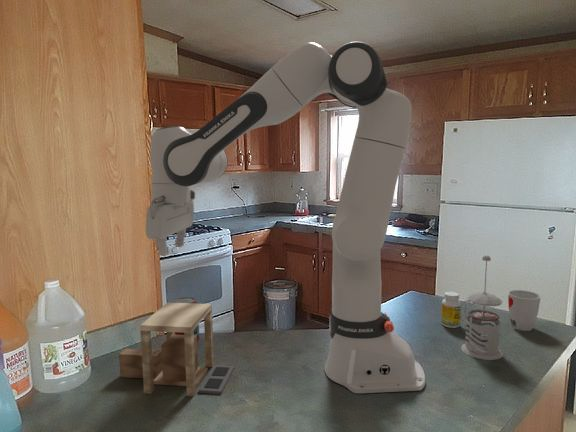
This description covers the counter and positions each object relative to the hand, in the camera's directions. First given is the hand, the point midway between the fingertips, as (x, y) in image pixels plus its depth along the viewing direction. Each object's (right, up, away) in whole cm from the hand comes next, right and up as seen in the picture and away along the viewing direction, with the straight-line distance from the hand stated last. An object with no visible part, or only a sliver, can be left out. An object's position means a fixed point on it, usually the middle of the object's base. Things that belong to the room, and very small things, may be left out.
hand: (172, 250), depth 103 cm
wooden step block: (0, -28, -7) cm, 29 cm away
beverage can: (+1, -26, +10) cm, 28 cm away
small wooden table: (+4, -28, -8) cm, 30 cm away
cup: (+97, -24, +18) cm, 101 cm away
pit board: (+13, -28, -9) cm, 32 cm away
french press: (+78, -26, +5) cm, 82 cm away
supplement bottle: (+77, -24, +21) cm, 83 cm away
